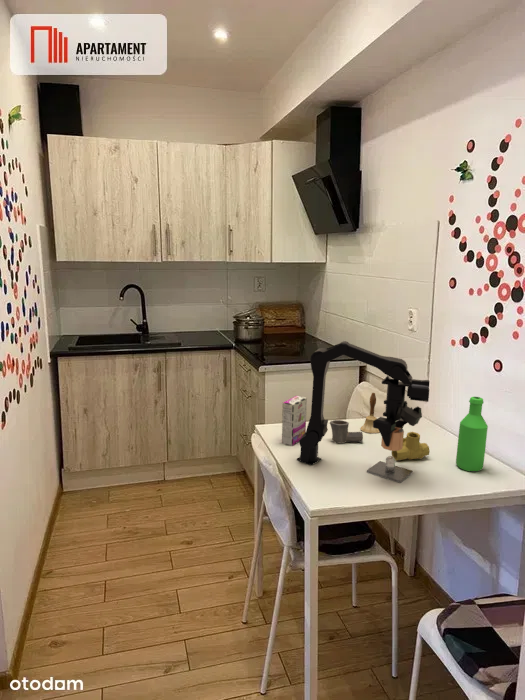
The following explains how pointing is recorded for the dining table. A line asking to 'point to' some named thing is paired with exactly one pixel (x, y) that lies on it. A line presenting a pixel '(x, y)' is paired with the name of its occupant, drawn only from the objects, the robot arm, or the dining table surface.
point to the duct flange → (390, 470)
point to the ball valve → (411, 448)
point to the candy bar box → (293, 420)
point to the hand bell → (370, 418)
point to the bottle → (472, 438)
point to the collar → (395, 440)
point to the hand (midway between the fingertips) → (391, 443)
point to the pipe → (344, 432)
